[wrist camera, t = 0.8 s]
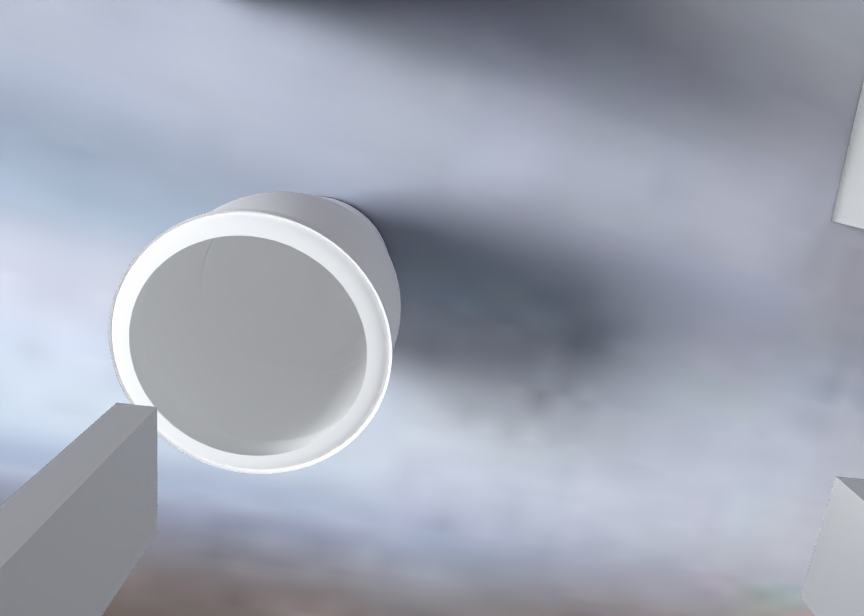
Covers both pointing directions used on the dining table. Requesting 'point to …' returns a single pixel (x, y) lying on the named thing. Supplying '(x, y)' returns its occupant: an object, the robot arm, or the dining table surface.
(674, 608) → the dining table surface
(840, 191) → the cabinet body
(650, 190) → the dining table surface
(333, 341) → the jar
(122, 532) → the robot arm
